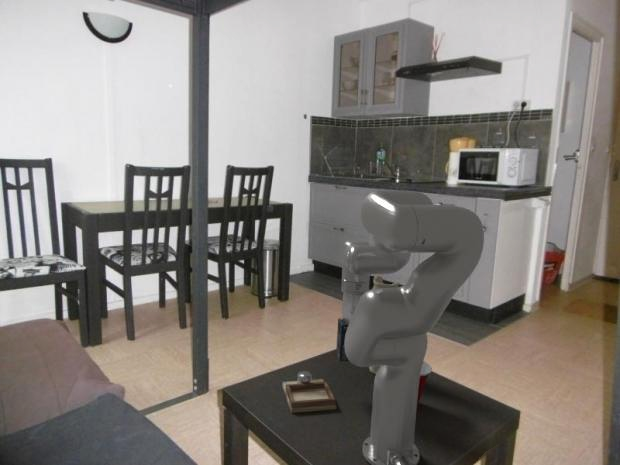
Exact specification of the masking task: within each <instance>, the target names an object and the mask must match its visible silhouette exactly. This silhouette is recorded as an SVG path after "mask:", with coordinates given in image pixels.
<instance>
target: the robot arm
mask: <svg viewBox="0 0 620 465" xmlns="http://www.w3.org/2000/svg"><path fill="white" fill-rule="evenodd" d="M360 220H361V224H362V226H363V228H364V229H365V231H366V232H367V233H368V234H369V236H371V238H372V241H373V242H374V244H371V243H370V242H369V241H366V240H360V239H351V240H346V241H345V242H344V243H343V245H342V247H343V248H342V264H341V265H342V267H341V268H342V269H341V286H340V287H341V288H340V289H341V292H342V293H343V294H342V302H341V319H344V320H345V321H346V322H347V323H348V324H349V326H348V328H347V331H346V335H345V342H344V347H345V353H346V356H347V358H348V359H349V361H348V362H350V363H351V364H352V365H354V366H355V367H358V368H359V367H360V368H369V367H371V366H380V367H379V369H378V371H377V373H376V374H375V376H374V382H373V392H372V404H371V407H372V408H371V420H370V433H369V434H370V436H368V437H367V438H366V439H364V441H363V443H362V455H363V457H364V459H365V460H366V461H367V462H368V463H369V464H370V465H418V464H419V463H420V451H419V448H418V447H417V446H416V444H415V442H414V441H415V433H416V432H415V430H416V419H417V409H418V407H417V398H418V388H419V379H420V372H421V368H422V364H423V361H425V357H426V355H427V354H426V353H427V350H428V342H429V341H428V333H429V332H430V331H431V330H432V329H433V328H434V327H435V326H436V324H437V323H438V321H439V320H440V318H441V317H442V315H443V314H444V312H445V310H446V309H447V307H448V306H449V304H450V303H451V301H452V299H453V297H454V296H455V294H457V292H458V291H459V290H460V288H461V287H462V286H463V285H464V284H465V283H466V281H467V280H468V279H469V278H470V276H471V275H472V274H473V272H474V271H475V269H476V268H477V267H478V265H479V262H480V260H481V257H482V253H483V250H484V244H485V229H484V225H483V222H482V221H481V218H480V217H479V216H478V215H477V214H476V213H475V212H474V211H473V210H470V209H468V208H465V207H462V206H457V205H449V204H447V205H445V204H434V202H433V201H432V199H431V198H430V197H429V196H428V195H426V194H424V193H423V192H420V191H417V190H394V189H391V190H389V189H387V190H386V189H377V190H373V191H371V192H370V193H368V194H367V196H365V197H364V200H363V201H362V204H361V208H360ZM413 253H414V254H415V253H416V254H417V253H418V254H419V253H420V254H421V253H422V254H423V253H424V254H425V253H428V254H429V253H430V254H431V253H433V254H431V255H430V256H429V257H427V258H426V259H424V260H422V262H420V263H419V264H418V265H416V267H415V268H414V270H413V271H412V272H411V273H410V276H409V278H408V279H407V281H406V283H405V284H404V285H402V286H398V287H396V288H377V289H373V288H371V289H370V278H371V277H370V276H371V275H382V274H383V275H384V274H385V275H387V274H388V275H389V274H395V273H397V272H400V271H401V270H402V269H403V268H404V267H405V266H406V265H408V263H409V261H410V259H411V255H412V254H413Z"/></svg>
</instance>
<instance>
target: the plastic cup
mask: <svg viewBox="0 0 620 465" xmlns="http://www.w3.org/2000/svg"><path fill="white" fill-rule="evenodd" d="M432 370H433V368H432V366H431V365H430V364H429V363H428V362H427V361H426V360H423V364H422V368H421V372H420V379H419V388H418V398H417V408H418V407H419V404H420V400H421V397H422V394H423V390H424V387H425V384H426V381H427V379H428V377H429V375H430V374H431V373H432Z"/></svg>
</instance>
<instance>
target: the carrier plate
mask: <svg viewBox="0 0 620 465" xmlns="http://www.w3.org/2000/svg"><path fill="white" fill-rule="evenodd" d="M312 377H313V375H312V373H311V372H310V371H305V370H302V371H299V372H298V373H297V380H292V381H289V380H288V381H282V382H281V383H282V384H281V385H282V386H281V387H282V389H283V391H284V395H285V398H286V401H287V405H288V408H289V411H290V413H291V414H292V413H296V414H297V413H306V412H316V411H317V412H319V411H331V410H336V409H337V404H336V398H335V396H334V394H333V392H332V391H331V388H330V386H329V384H328V383H327V381H324V379H323V378H320V379H313V378H312Z"/></svg>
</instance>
